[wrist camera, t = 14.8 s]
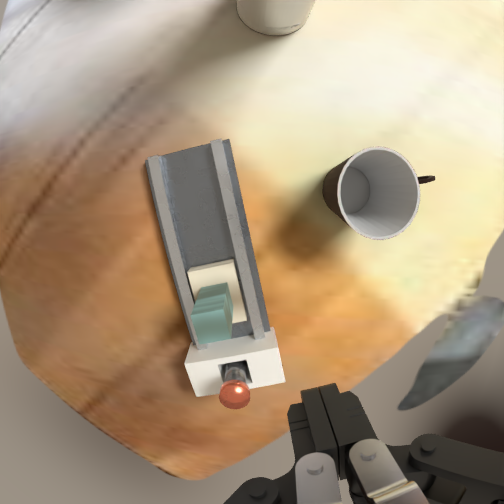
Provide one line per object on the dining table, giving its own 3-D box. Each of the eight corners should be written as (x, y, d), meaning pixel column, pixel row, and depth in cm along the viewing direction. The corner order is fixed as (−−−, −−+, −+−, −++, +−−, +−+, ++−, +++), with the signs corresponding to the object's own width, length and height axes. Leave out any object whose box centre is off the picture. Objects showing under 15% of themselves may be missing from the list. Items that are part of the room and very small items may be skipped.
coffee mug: (306, 217, 38) (328, 229, 28) (320, 147, 36) (346, 135, 26) (392, 236, 39) (432, 252, 29) (405, 170, 37) (449, 169, 27)
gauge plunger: (220, 347, 40) (215, 388, 31) (245, 342, 40) (246, 383, 31) (226, 367, 41) (223, 411, 32) (250, 363, 41) (252, 406, 32)
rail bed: (147, 161, 36) (140, 159, 33) (229, 140, 36) (228, 137, 33) (201, 363, 42) (199, 374, 39) (274, 350, 41) (276, 360, 39)
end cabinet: (190, 342, 41) (184, 363, 35) (273, 326, 41) (278, 347, 35) (201, 373, 42) (196, 396, 36) (280, 359, 42) (285, 381, 36)
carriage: (190, 267, 37) (172, 296, 28) (233, 258, 37) (230, 285, 28) (204, 321, 39) (194, 364, 29) (246, 313, 39) (247, 355, 29)
